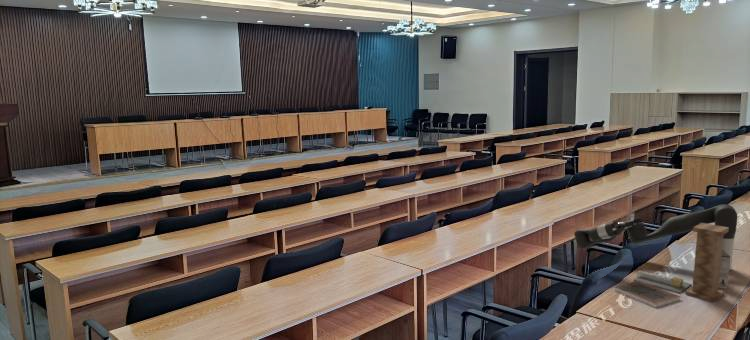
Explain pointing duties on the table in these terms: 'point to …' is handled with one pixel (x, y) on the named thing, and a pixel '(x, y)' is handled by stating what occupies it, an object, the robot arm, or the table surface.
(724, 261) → the coffee box
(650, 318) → the table surface
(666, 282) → the steel bar
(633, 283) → the picture frame
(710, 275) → the walnut stand
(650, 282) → the rubber mat
